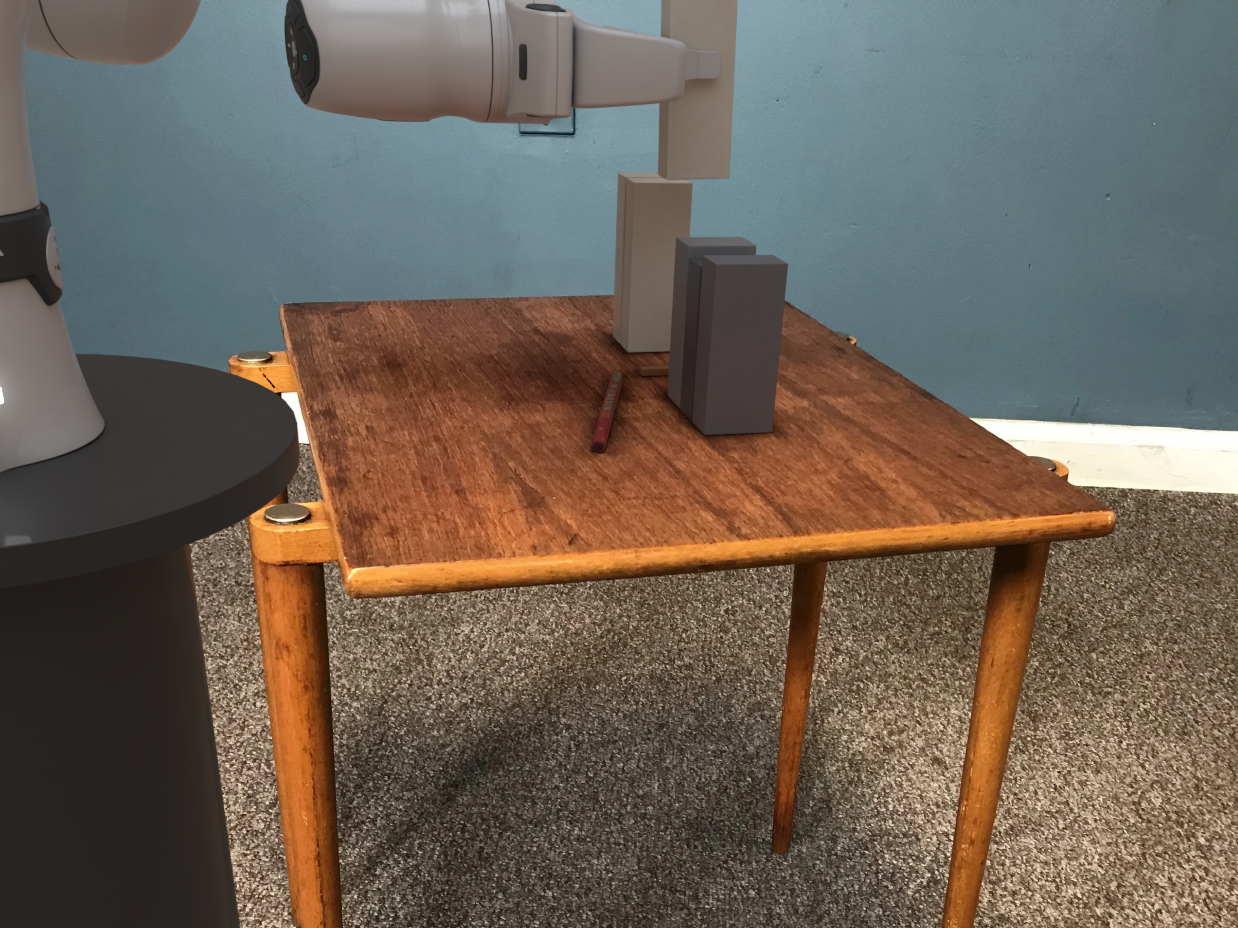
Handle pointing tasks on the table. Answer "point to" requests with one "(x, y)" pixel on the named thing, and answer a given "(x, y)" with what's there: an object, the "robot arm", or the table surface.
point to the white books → (647, 260)
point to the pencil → (607, 413)
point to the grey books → (726, 334)
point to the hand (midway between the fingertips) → (709, 63)
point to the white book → (699, 93)
